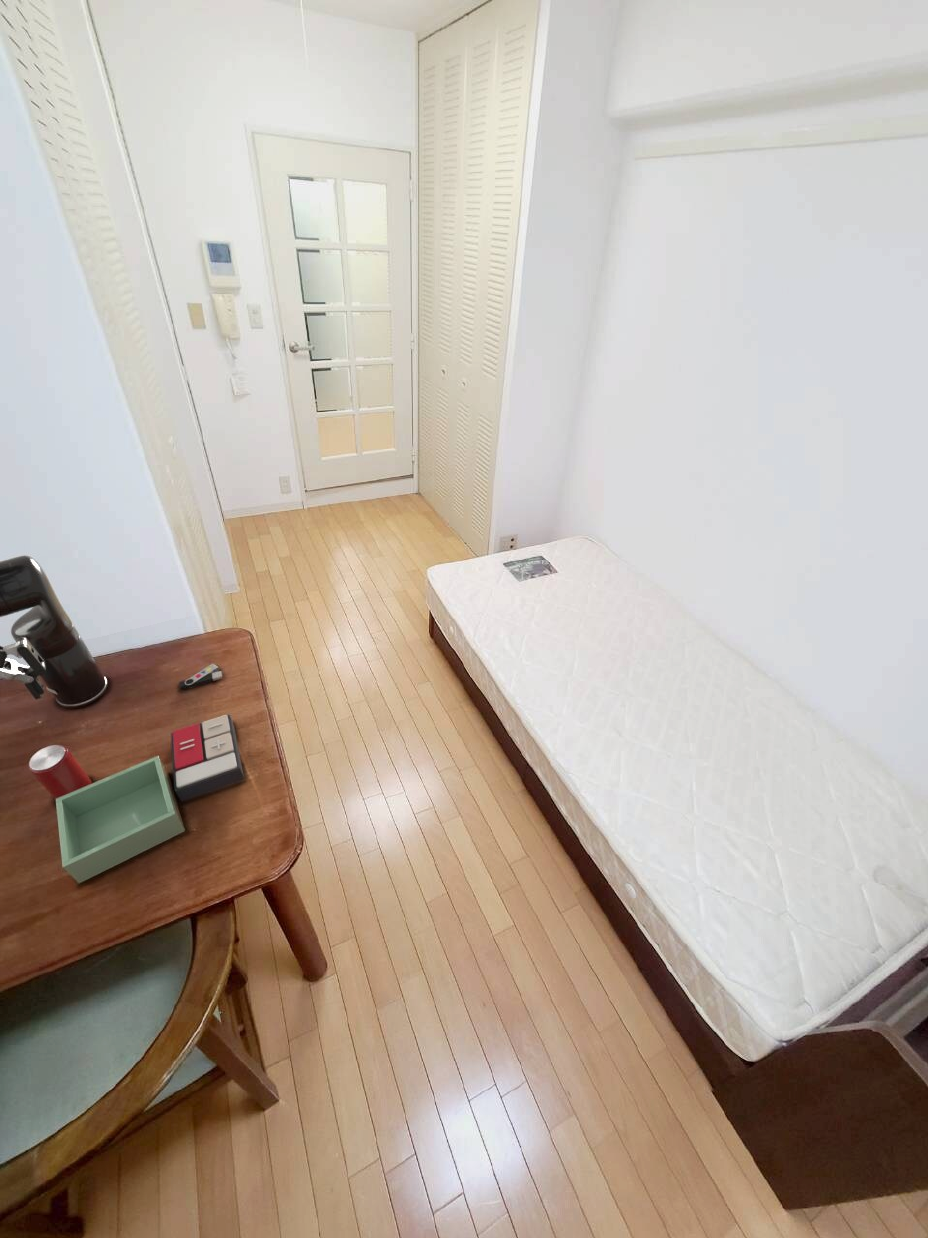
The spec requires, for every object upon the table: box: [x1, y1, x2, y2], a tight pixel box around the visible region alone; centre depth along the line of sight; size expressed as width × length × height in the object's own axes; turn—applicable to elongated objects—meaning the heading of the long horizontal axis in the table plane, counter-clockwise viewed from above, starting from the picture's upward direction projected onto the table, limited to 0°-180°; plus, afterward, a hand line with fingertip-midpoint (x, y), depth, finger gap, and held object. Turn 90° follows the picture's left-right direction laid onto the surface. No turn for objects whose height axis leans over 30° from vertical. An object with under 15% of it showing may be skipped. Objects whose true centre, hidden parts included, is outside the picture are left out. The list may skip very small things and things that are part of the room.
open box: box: [55, 755, 186, 884], centre depth 86 cm, size 14×16×6 cm
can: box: [27, 744, 93, 801], centre depth 89 cm, size 6×6×10 cm
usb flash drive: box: [178, 663, 223, 691], centre depth 114 cm, size 9×5×1 cm, turn 117°
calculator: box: [170, 714, 245, 802], centre depth 97 cm, size 11×4×15 cm
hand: (5, 706), depth 77 cm, fingers open, 8 cm apart
